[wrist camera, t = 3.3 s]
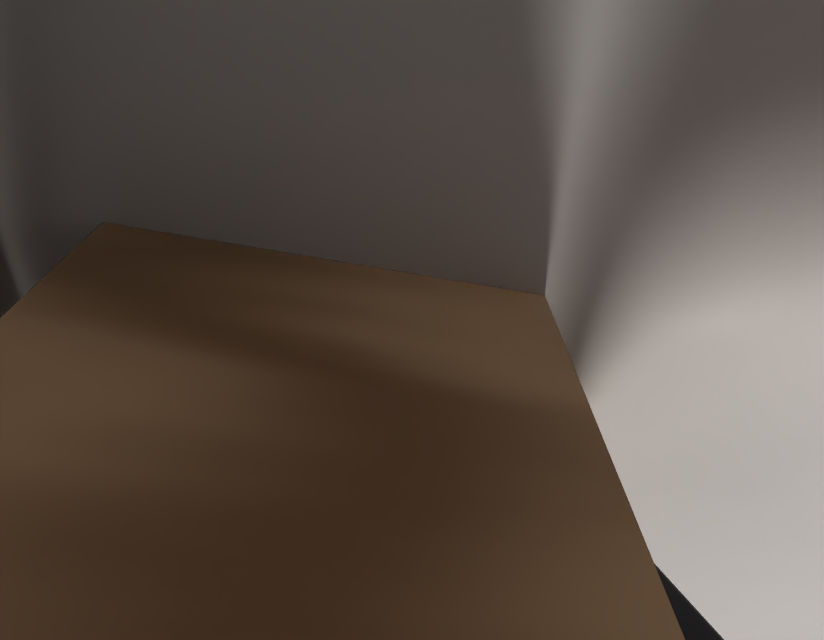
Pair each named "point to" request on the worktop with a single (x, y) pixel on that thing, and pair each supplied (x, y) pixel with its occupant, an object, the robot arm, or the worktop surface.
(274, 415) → the cube
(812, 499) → the worktop surface
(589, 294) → the worktop surface
